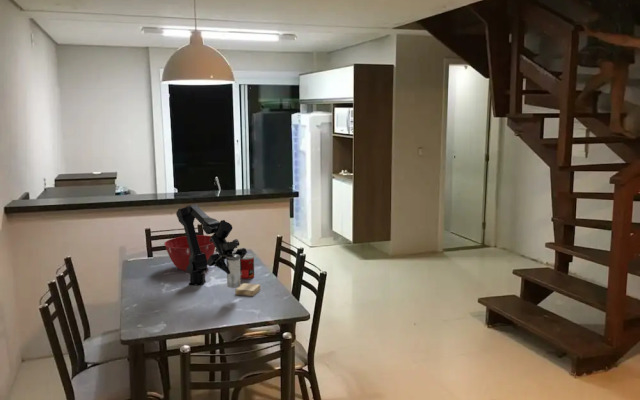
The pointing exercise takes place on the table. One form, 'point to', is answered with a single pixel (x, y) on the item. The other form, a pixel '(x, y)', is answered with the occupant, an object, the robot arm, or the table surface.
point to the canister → (233, 270)
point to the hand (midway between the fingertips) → (235, 272)
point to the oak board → (247, 289)
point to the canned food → (247, 267)
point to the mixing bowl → (187, 249)
